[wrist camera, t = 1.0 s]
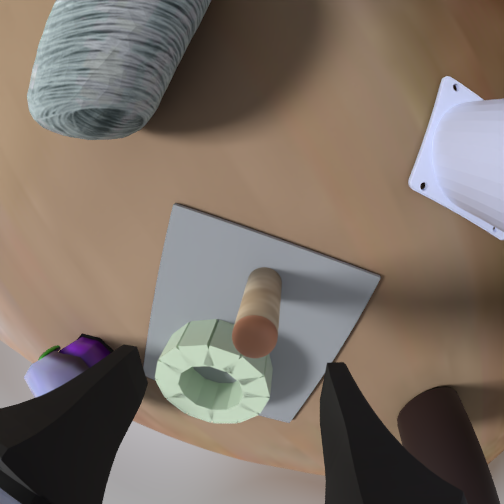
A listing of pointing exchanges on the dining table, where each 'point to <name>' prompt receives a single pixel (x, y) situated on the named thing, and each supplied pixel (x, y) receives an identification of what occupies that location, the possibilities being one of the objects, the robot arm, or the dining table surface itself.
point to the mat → (231, 292)
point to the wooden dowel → (258, 314)
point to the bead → (206, 391)
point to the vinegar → (447, 443)
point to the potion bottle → (65, 363)
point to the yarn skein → (108, 63)
